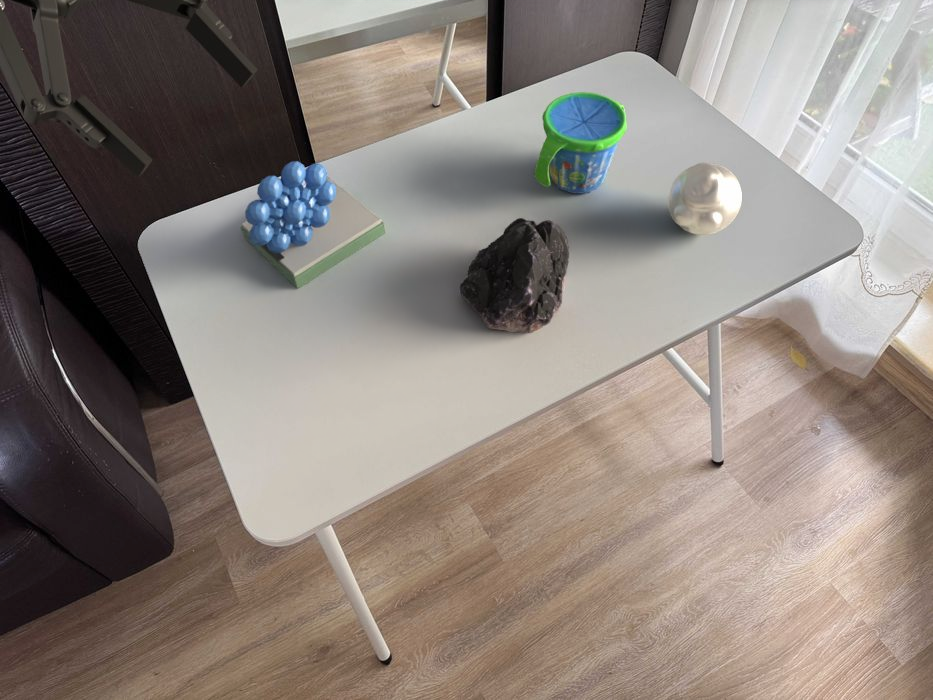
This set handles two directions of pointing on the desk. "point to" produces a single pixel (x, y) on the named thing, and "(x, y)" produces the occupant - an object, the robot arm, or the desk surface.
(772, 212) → the desk surface
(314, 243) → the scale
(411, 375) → the desk surface
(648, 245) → the desk surface
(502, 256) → the dark rock
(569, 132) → the snack cup
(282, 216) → the grapes
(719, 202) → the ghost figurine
